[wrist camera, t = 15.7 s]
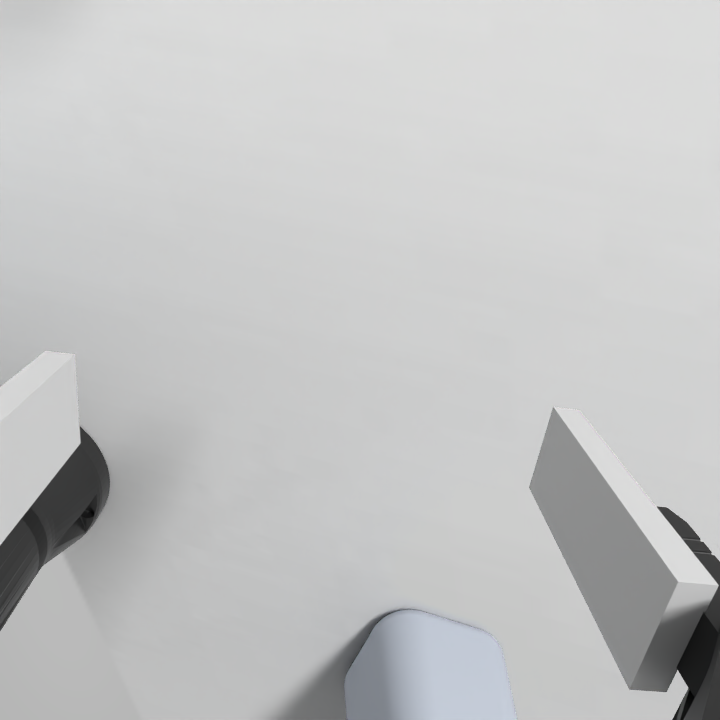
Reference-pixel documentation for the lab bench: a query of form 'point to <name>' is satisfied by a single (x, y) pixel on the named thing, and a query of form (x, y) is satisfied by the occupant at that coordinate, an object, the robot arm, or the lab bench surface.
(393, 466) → the lab bench surface
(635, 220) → the lab bench surface
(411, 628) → the plastic bottle
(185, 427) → the lab bench surface
